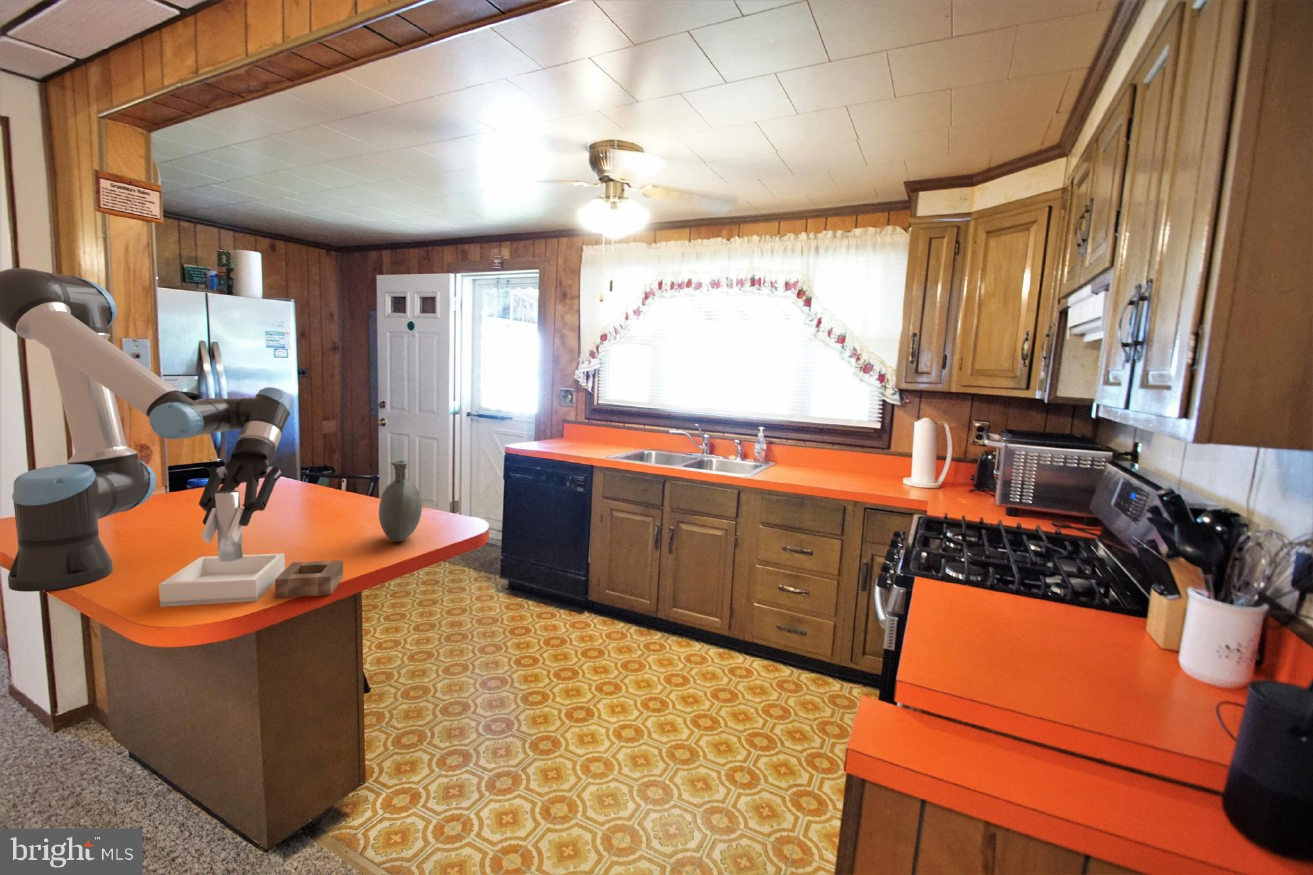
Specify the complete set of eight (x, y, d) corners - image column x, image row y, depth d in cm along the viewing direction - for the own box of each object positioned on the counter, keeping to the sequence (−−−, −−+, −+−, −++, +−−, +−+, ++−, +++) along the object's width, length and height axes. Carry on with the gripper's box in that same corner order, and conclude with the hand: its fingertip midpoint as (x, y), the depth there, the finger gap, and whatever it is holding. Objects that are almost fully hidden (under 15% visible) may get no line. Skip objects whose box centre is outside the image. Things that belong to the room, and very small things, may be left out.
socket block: (275, 598, 114) (274, 579, 114) (292, 579, 124) (292, 562, 123) (330, 594, 117) (330, 576, 116) (343, 577, 126) (342, 560, 126)
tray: (160, 606, 108) (158, 584, 107) (201, 576, 123) (200, 556, 122) (256, 601, 112) (255, 579, 112) (285, 572, 127) (284, 553, 127)
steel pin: (215, 562, 115) (211, 495, 113) (224, 555, 118) (220, 490, 117) (238, 560, 116) (234, 494, 114) (246, 554, 119) (242, 490, 118)
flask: (362, 548, 146) (361, 465, 143) (396, 530, 163) (395, 455, 160) (406, 551, 146) (405, 467, 143) (435, 532, 162) (435, 457, 160)
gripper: (303, 456, 131) (273, 546, 117) (221, 455, 128) (179, 548, 114) (292, 436, 125) (259, 529, 111) (206, 435, 122) (160, 531, 108)
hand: (219, 539), depth 113 cm, fingers closed on steel pin, 4 cm apart
